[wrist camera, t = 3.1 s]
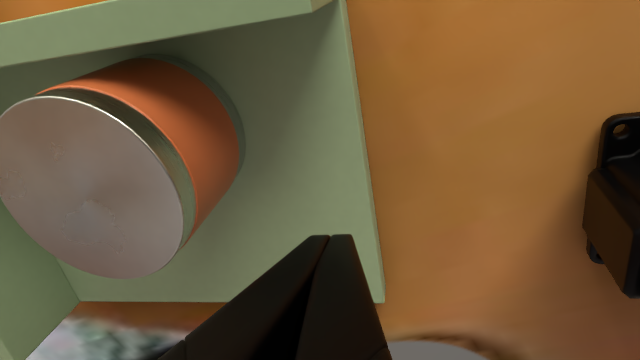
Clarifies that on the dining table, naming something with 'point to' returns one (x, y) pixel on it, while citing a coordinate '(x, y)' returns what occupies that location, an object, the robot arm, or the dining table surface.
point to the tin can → (120, 163)
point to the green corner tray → (260, 152)
